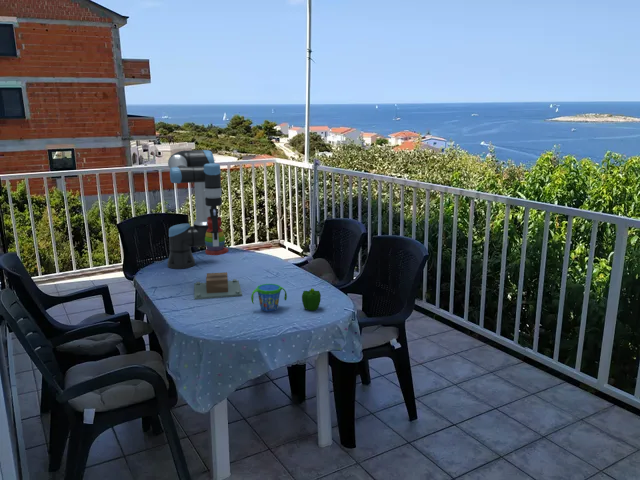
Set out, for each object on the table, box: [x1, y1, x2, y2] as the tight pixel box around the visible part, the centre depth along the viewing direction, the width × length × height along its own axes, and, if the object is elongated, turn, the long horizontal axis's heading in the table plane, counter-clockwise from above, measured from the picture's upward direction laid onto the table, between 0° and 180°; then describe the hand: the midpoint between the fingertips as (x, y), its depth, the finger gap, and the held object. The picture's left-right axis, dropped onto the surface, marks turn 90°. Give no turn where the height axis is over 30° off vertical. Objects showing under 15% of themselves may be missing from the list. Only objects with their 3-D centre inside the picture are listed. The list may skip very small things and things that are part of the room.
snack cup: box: [250, 283, 288, 313], centre depth 228 cm, size 16×10×10 cm
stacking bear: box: [204, 216, 229, 256], centre depth 248 cm, size 11×10×18 cm
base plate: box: [193, 278, 243, 300], centre depth 254 cm, size 22×22×2 cm
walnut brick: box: [205, 271, 229, 293], centre depth 253 cm, size 13×10×6 cm
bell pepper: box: [301, 288, 322, 312], centre depth 228 cm, size 8×8×10 cm
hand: (215, 243), depth 249 cm, fingers closed on stacking bear, 9 cm apart
